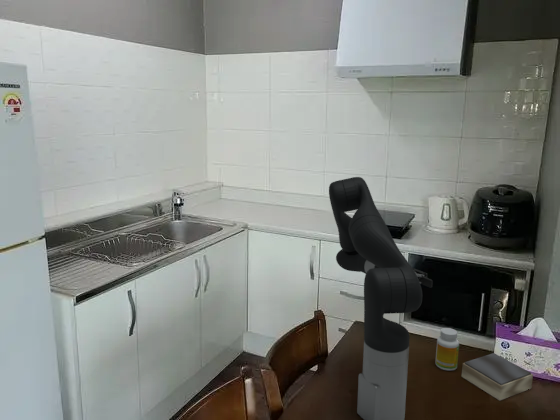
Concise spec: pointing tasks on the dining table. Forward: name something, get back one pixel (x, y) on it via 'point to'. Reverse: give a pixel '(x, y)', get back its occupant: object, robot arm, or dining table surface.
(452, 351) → the supplement bottle
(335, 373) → the dining table surface
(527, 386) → the plinth
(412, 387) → the dining table surface
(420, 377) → the dining table surface
